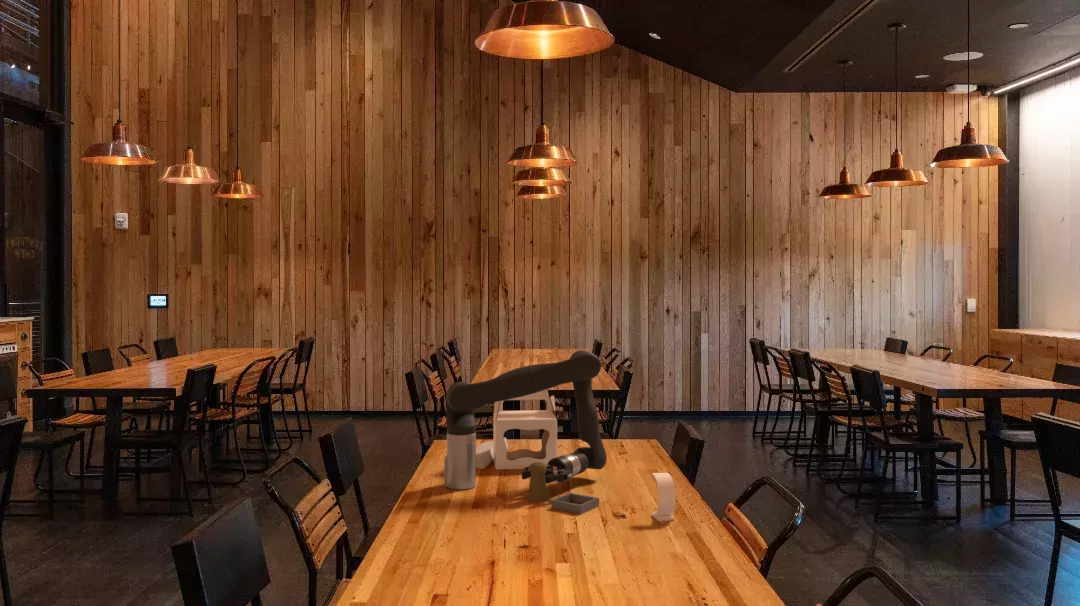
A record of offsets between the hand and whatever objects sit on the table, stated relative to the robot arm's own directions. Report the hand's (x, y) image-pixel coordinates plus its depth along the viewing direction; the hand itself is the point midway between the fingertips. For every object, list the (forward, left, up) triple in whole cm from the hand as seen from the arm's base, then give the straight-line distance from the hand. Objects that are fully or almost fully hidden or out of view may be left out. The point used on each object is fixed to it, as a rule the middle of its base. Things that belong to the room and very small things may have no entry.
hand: (534, 478), depth 221 cm
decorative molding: (-38, +47, -8) cm, 61 cm away
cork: (0, +2, -7) cm, 7 cm away
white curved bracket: (+39, -3, -7) cm, 40 cm away
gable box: (-19, +42, -7) cm, 47 cm away
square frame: (+13, -2, -7) cm, 15 cm away
